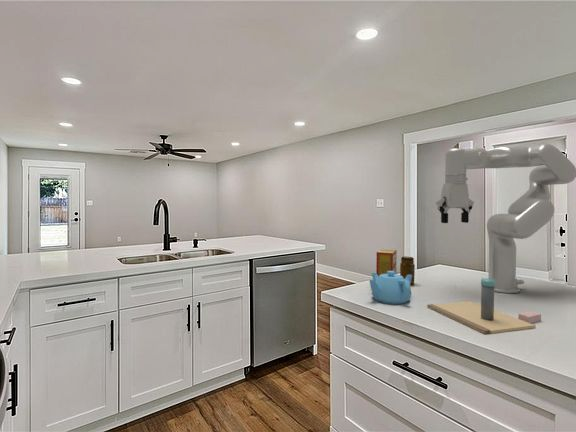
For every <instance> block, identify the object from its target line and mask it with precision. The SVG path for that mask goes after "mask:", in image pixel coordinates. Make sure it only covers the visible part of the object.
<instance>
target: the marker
mask: <svg viewBox="0 0 576 432" xmlns="http://www.w3.org/2000/svg"><path fill="white" fill-rule="evenodd" d="M480 284H481V286H480V289H481V290H480V291H481V292H480V293H481V294H480V305H481V319H484V320H489V321H492V320H494V310H495V291H494V286H495V280H493V279H488V278H481V279H480Z"/></svg>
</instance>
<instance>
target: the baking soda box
mask: <svg viewBox="0 0 576 432" xmlns="http://www.w3.org/2000/svg"><path fill="white" fill-rule="evenodd" d="M397 254H398V253H397V250H396V249H384V248H382V249H379V250H378V251H376V267H375V268H376V272H375V273H377V275H378V276H380V275H381V274H388V273H387V271H394V272H395V274H397Z"/></svg>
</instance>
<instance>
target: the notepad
mask: <svg viewBox="0 0 576 432" xmlns="http://www.w3.org/2000/svg"><path fill="white" fill-rule="evenodd" d="M426 306H427V307H426V308H428V309H430V310H432V311H434V312H436V313H439V314H440V315H442V316H444V317H447V318H449V319H450V320H453V321H455V322H457V323H459V324H462V325H464V326H466V327H468V328H470V329H472V330H474V331H475V332H476V331H477V332H478V333H481V334H483V335H489V334H491V335H492V334H498V333H506V332H513V331H523V330H529V329H536V324H534V323H528V322H525V321H523V320H520V319H518V318H517V317H515V316H512V315H509V314H506V313H504V312H500V311H498V310H495V309H494V320H492V321H489V320H484V319H481V303H480V304H478V302H477V303H476V302H475V301H471V300H469V301H468V300H467V301H457V302H446V303H434V304H433V303H430V304H426Z"/></svg>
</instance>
